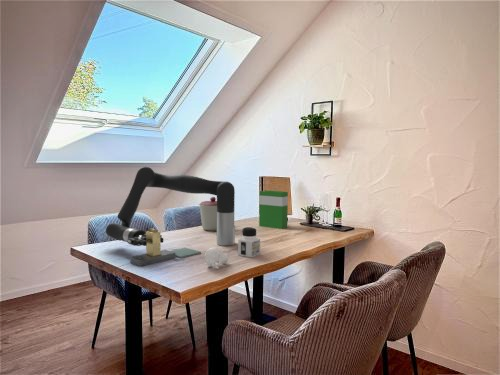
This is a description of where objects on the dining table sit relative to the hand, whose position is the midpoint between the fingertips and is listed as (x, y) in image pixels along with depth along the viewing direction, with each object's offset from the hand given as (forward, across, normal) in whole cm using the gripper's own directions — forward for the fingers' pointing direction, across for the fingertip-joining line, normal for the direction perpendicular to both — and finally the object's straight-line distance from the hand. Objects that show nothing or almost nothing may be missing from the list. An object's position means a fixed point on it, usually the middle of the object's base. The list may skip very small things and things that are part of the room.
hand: (154, 241), depth 159 cm
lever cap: (-1, 0, +8) cm, 9 cm away
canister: (-34, +67, +9) cm, 76 cm away
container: (+24, +37, +9) cm, 44 cm away
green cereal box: (-13, +102, +9) cm, 103 cm away
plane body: (-1, 0, +8) cm, 9 cm away
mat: (-1, +16, +8) cm, 19 cm away
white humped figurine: (+26, +14, +9) cm, 31 cm away
